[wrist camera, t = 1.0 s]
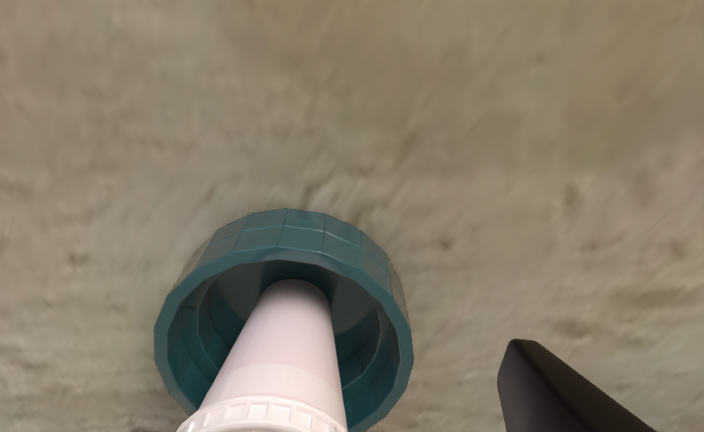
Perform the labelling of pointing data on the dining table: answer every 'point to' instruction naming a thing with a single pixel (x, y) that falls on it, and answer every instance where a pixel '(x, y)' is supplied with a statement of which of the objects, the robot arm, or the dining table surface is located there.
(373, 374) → the teal faceted dish
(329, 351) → the smoothie
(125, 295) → the dining table surface
